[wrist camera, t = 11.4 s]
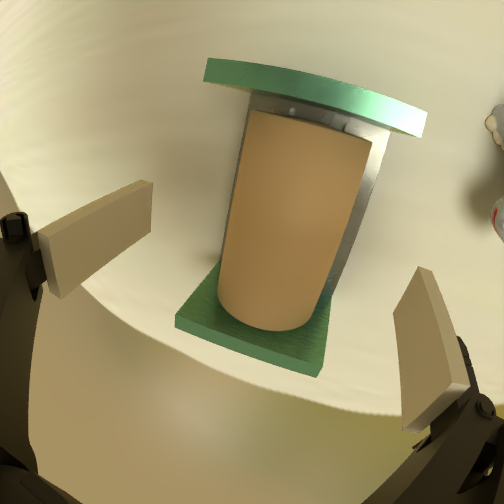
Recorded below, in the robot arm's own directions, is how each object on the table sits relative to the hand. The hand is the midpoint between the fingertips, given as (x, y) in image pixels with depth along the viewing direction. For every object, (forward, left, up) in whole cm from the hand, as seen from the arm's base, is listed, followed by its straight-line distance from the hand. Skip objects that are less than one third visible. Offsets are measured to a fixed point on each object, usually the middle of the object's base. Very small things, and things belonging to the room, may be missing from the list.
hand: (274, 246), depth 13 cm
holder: (0, 0, -10) cm, 10 cm away
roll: (+1, 0, -9) cm, 9 cm away
